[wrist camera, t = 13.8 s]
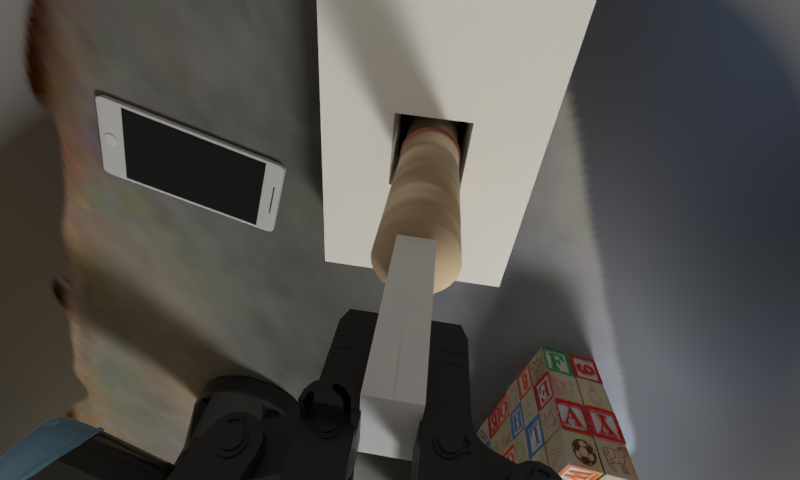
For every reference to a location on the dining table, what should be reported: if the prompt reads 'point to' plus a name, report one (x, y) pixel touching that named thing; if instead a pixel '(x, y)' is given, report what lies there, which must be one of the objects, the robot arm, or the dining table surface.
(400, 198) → the beech peg
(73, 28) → the dining table surface
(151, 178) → the smartphone
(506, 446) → the stack of blocks
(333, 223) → the hole board
